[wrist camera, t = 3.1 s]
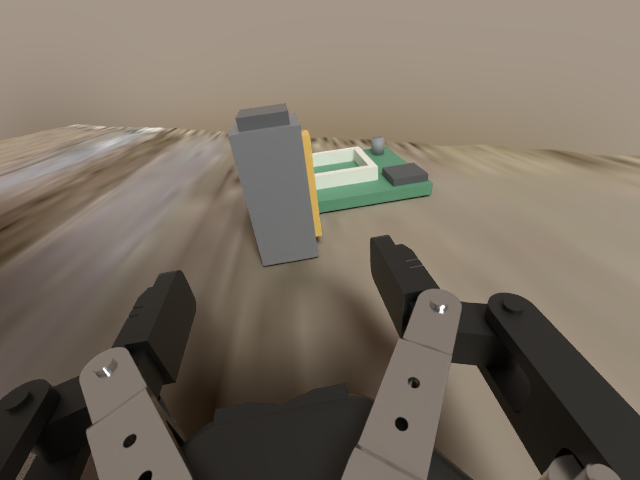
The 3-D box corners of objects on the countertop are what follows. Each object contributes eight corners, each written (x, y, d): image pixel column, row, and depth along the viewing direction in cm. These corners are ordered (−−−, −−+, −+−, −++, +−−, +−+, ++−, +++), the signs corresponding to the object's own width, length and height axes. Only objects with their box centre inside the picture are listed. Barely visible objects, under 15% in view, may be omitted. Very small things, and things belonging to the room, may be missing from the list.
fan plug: (263, 266, 23) (224, 121, 17) (264, 236, 27) (232, 109, 21) (325, 255, 23) (308, 109, 17) (318, 227, 27) (301, 99, 21)
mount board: (256, 223, 29) (248, 193, 27) (260, 174, 41) (255, 151, 39) (431, 194, 30) (434, 164, 28) (386, 154, 42) (386, 131, 40)
